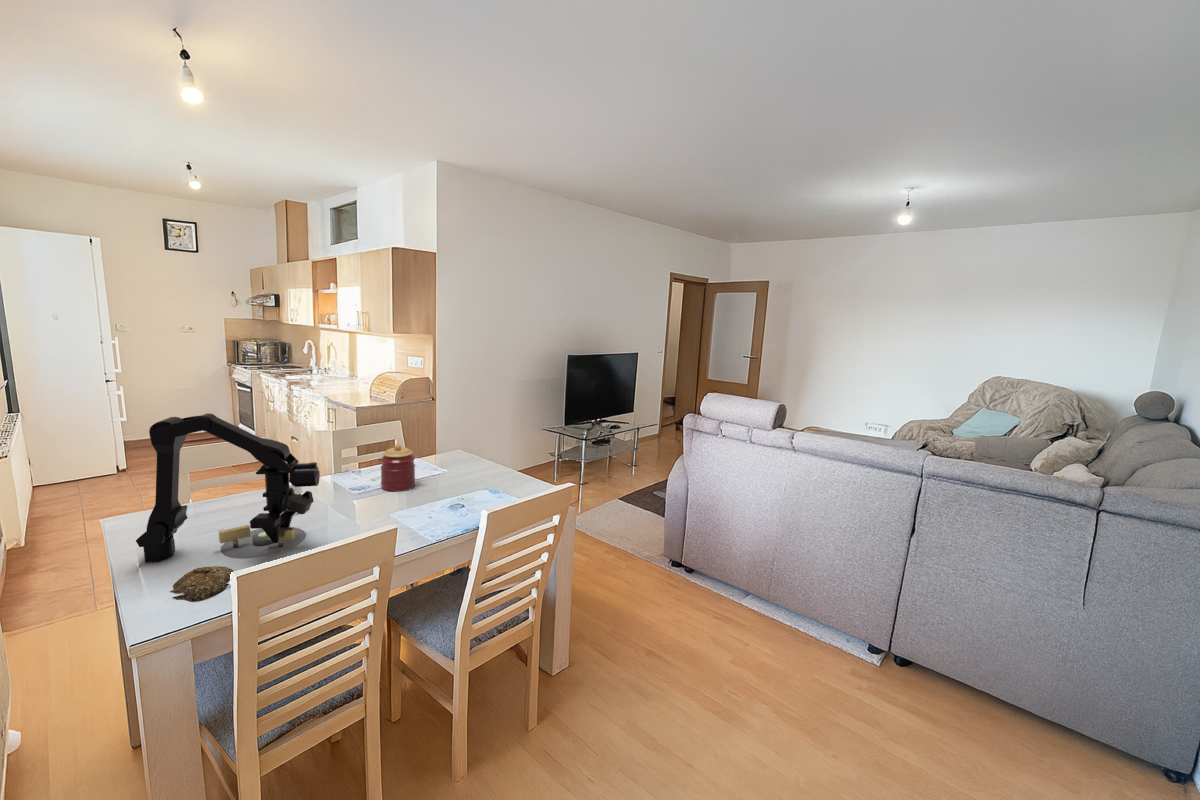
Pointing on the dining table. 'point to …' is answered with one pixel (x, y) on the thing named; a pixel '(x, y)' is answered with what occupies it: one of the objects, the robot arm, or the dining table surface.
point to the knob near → (284, 535)
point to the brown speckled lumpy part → (202, 583)
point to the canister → (397, 469)
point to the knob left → (234, 534)
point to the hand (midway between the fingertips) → (280, 538)
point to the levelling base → (260, 550)
